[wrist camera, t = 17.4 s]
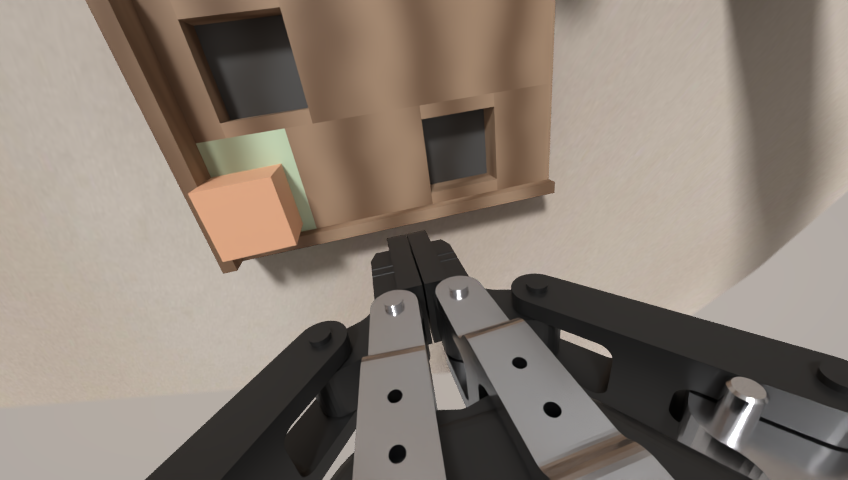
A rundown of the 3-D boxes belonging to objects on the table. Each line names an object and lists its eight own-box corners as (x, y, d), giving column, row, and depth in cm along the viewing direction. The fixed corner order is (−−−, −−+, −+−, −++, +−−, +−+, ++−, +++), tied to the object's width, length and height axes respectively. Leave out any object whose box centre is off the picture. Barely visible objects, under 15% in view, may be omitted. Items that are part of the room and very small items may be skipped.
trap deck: (538, -50, 24) (581, -81, 20) (534, 182, 32) (564, 197, 28) (129, -6, 20) (70, -30, 16) (242, 244, 29) (223, 273, 24)
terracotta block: (281, 163, 24) (270, 176, 21) (303, 223, 26) (296, 245, 23) (211, 177, 23) (187, 193, 20) (239, 237, 26) (222, 262, 22)
